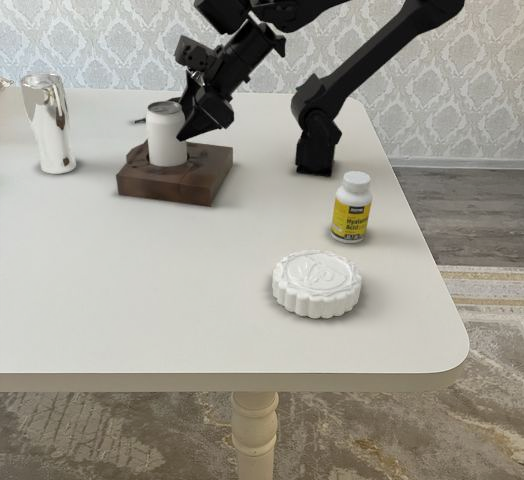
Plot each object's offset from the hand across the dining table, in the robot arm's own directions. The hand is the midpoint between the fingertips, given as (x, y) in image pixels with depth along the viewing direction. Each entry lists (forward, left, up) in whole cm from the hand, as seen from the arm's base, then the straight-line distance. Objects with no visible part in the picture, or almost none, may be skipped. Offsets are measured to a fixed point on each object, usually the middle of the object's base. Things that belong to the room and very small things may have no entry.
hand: (175, 128), depth 100 cm
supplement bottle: (-31, +13, -9) cm, 35 cm away
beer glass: (+22, +3, -9) cm, 23 cm away
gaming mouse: (+9, -24, -9) cm, 28 cm away
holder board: (0, +2, -8) cm, 9 cm away
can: (+1, +1, -9) cm, 9 cm away
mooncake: (-28, +29, -9) cm, 41 cm away
